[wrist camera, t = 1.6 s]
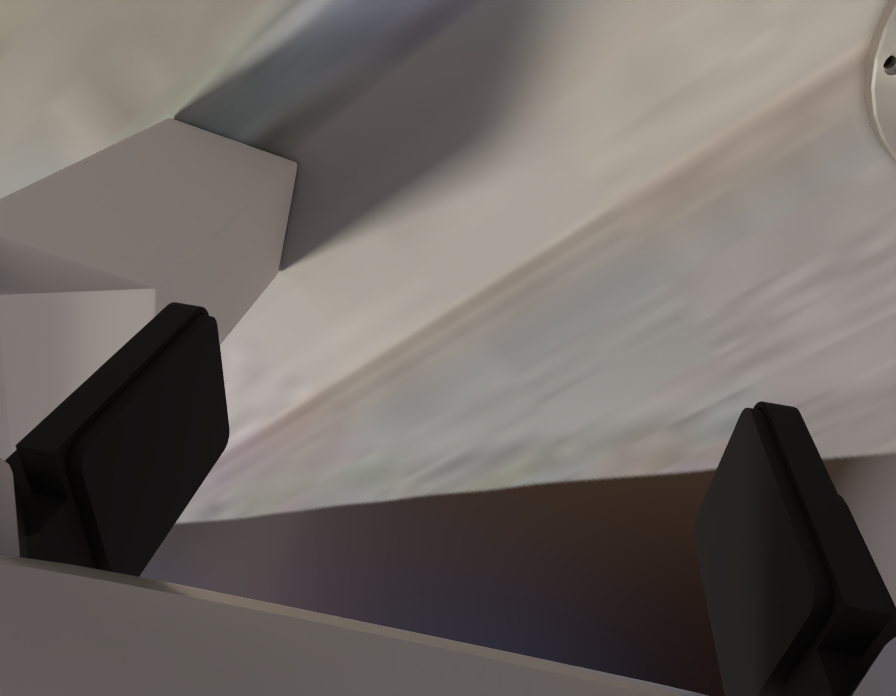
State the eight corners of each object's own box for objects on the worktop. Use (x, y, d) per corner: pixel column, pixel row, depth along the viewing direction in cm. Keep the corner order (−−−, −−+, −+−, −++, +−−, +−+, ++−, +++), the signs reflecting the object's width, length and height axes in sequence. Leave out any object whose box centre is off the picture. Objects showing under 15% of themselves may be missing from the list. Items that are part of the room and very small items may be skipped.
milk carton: (299, 160, 35) (86, 351, 19) (278, 274, 39) (86, 510, 23) (170, 115, 35) (-157, 271, 19) (162, 234, 39) (-115, 447, 23)
